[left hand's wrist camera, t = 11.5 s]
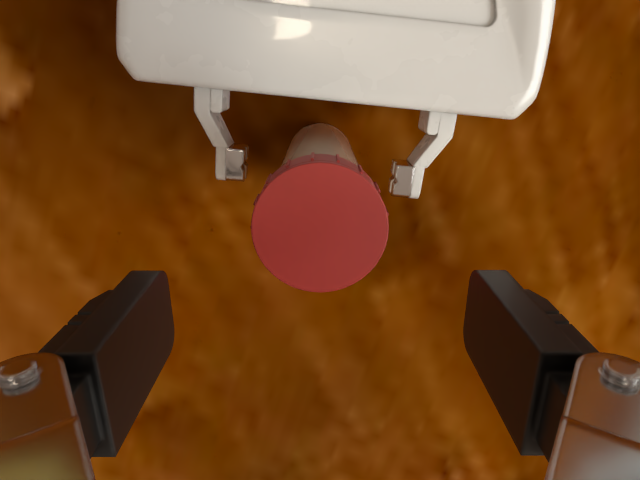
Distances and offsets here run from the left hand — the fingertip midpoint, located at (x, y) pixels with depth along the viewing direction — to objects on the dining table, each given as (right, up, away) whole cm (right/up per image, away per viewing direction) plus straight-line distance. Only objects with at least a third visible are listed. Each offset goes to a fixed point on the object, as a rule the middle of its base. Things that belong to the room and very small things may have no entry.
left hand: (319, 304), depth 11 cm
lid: (0, +2, +5) cm, 6 cm away
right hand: (0, +4, +14) cm, 14 cm away
